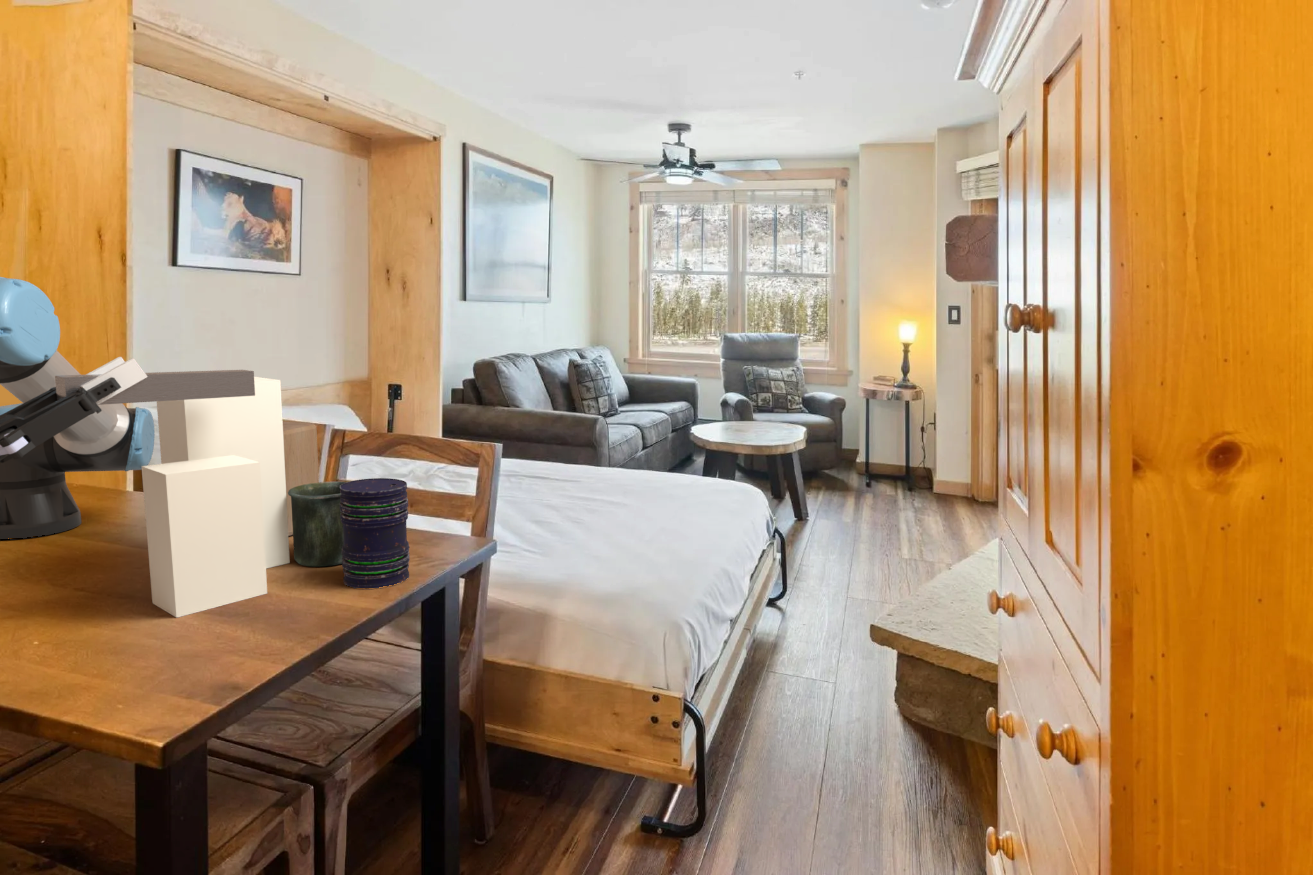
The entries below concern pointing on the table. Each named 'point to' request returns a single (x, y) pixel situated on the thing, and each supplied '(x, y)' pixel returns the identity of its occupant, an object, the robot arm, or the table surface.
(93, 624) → the table surface
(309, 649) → the table surface
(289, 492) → the mug
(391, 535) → the dark purple barrel
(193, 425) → the stand
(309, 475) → the block
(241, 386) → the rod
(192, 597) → the step
